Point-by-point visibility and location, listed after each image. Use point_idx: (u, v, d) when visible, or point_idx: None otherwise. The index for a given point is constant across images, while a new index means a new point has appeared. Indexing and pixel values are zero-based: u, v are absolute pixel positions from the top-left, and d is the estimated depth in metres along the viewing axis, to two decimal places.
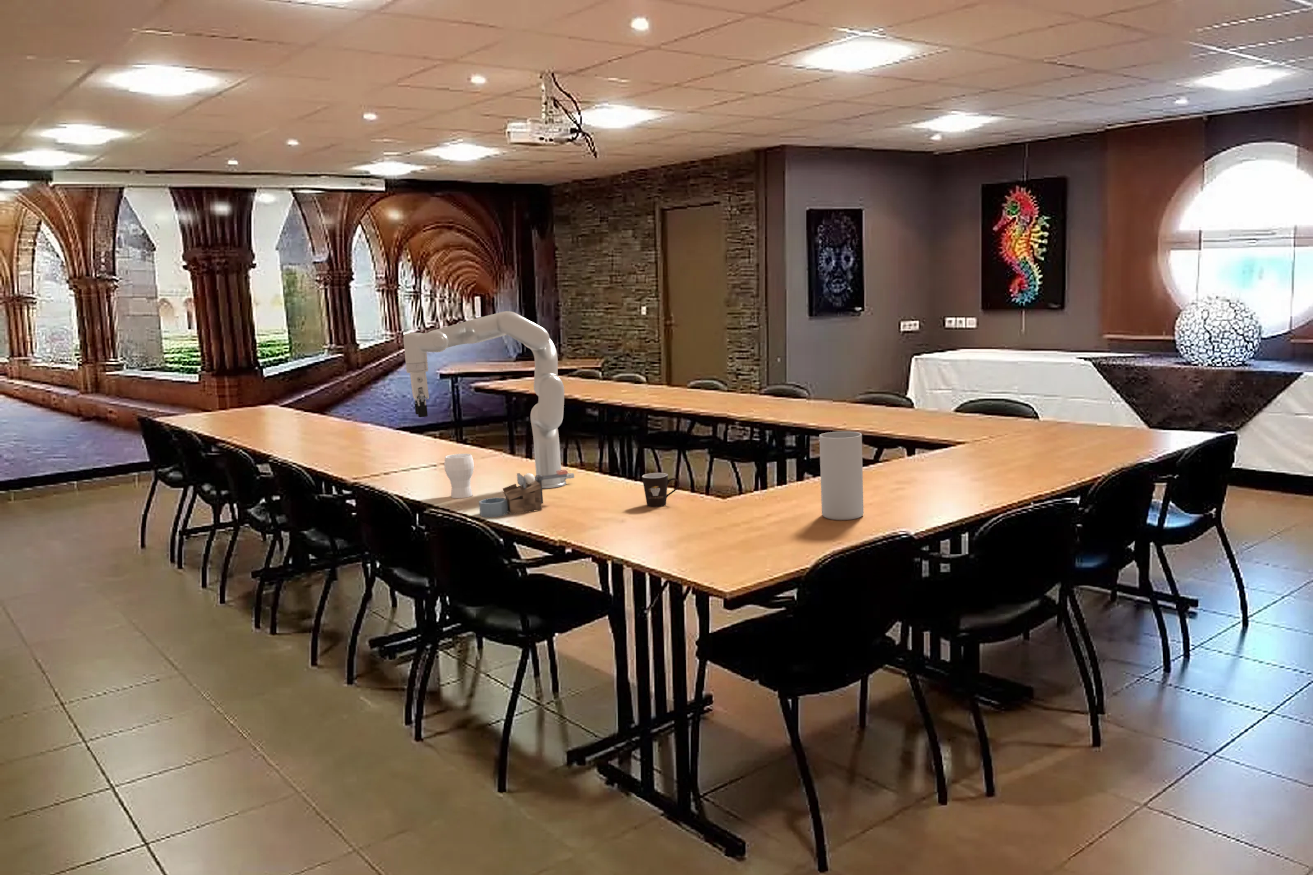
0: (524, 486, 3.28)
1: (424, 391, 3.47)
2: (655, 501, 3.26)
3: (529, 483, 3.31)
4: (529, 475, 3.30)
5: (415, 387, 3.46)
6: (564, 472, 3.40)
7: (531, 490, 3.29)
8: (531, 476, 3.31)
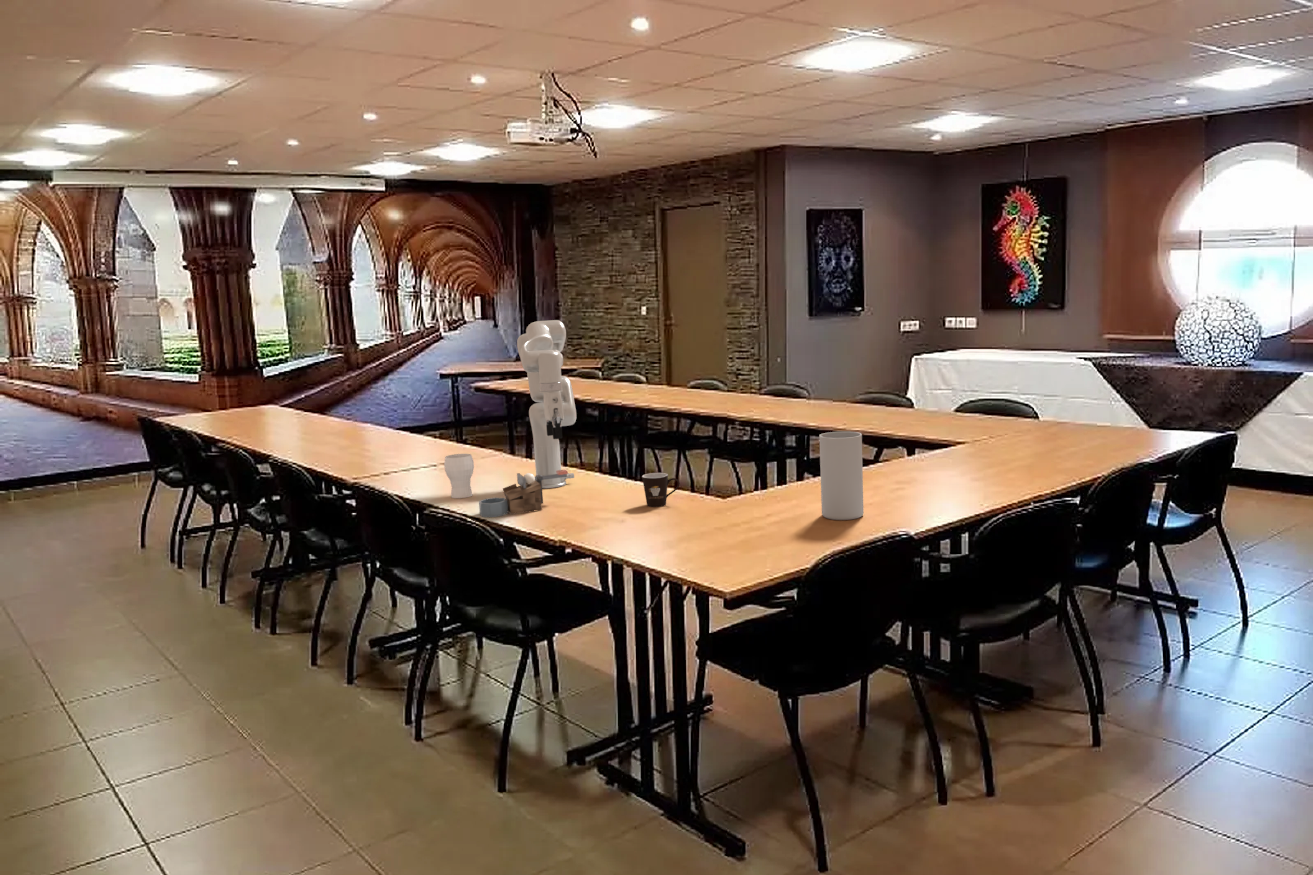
0: (524, 486, 3.28)
1: (559, 412, 3.34)
2: (655, 501, 3.26)
3: (529, 483, 3.31)
4: (529, 475, 3.30)
5: (550, 408, 3.33)
6: (564, 472, 3.40)
7: (531, 490, 3.29)
8: (531, 476, 3.31)
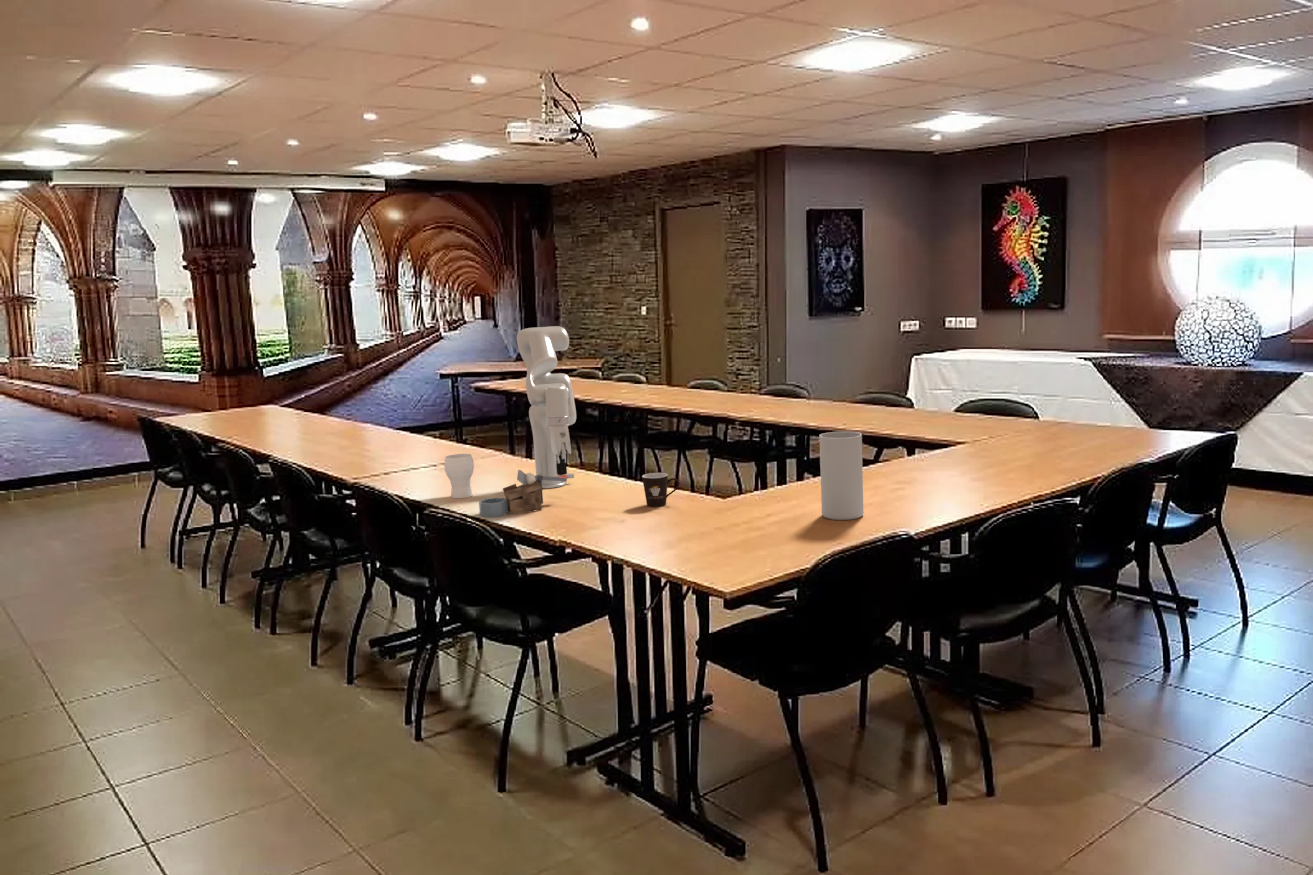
0: (524, 482, 3.28)
1: (567, 446, 3.35)
2: (655, 501, 3.26)
3: (529, 483, 3.31)
4: (530, 475, 3.31)
5: (558, 442, 3.34)
6: (565, 476, 3.40)
7: (531, 490, 3.29)
8: (532, 476, 3.31)
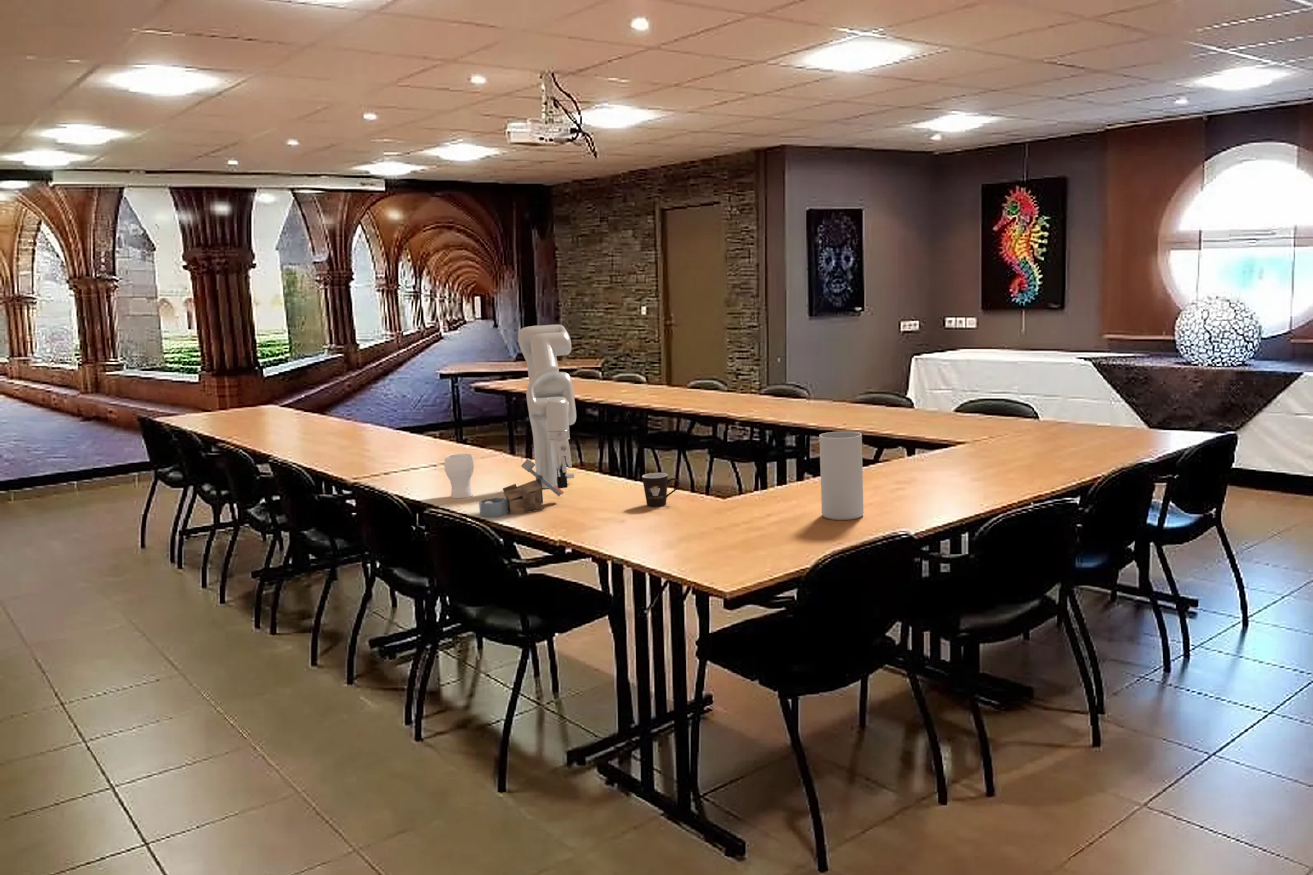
0: (528, 470, 3.27)
1: (567, 459, 3.36)
2: (655, 501, 3.26)
3: None
4: None
5: (558, 456, 3.35)
6: (561, 491, 3.40)
7: (531, 490, 3.29)
8: None
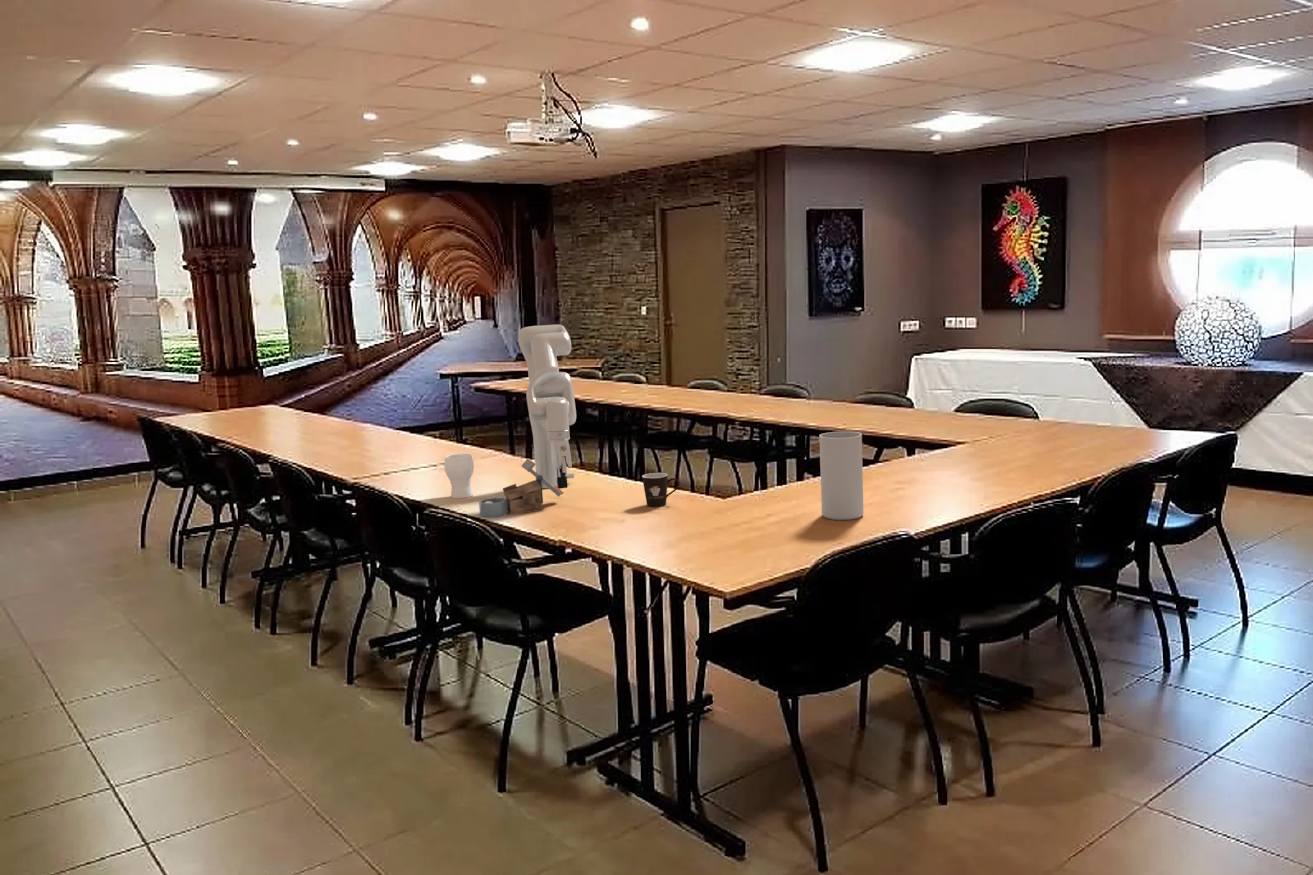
0: (529, 469, 3.28)
1: (567, 460, 3.36)
2: (655, 501, 3.26)
3: None
4: None
5: (558, 456, 3.35)
6: (560, 491, 3.40)
7: (531, 490, 3.29)
8: None
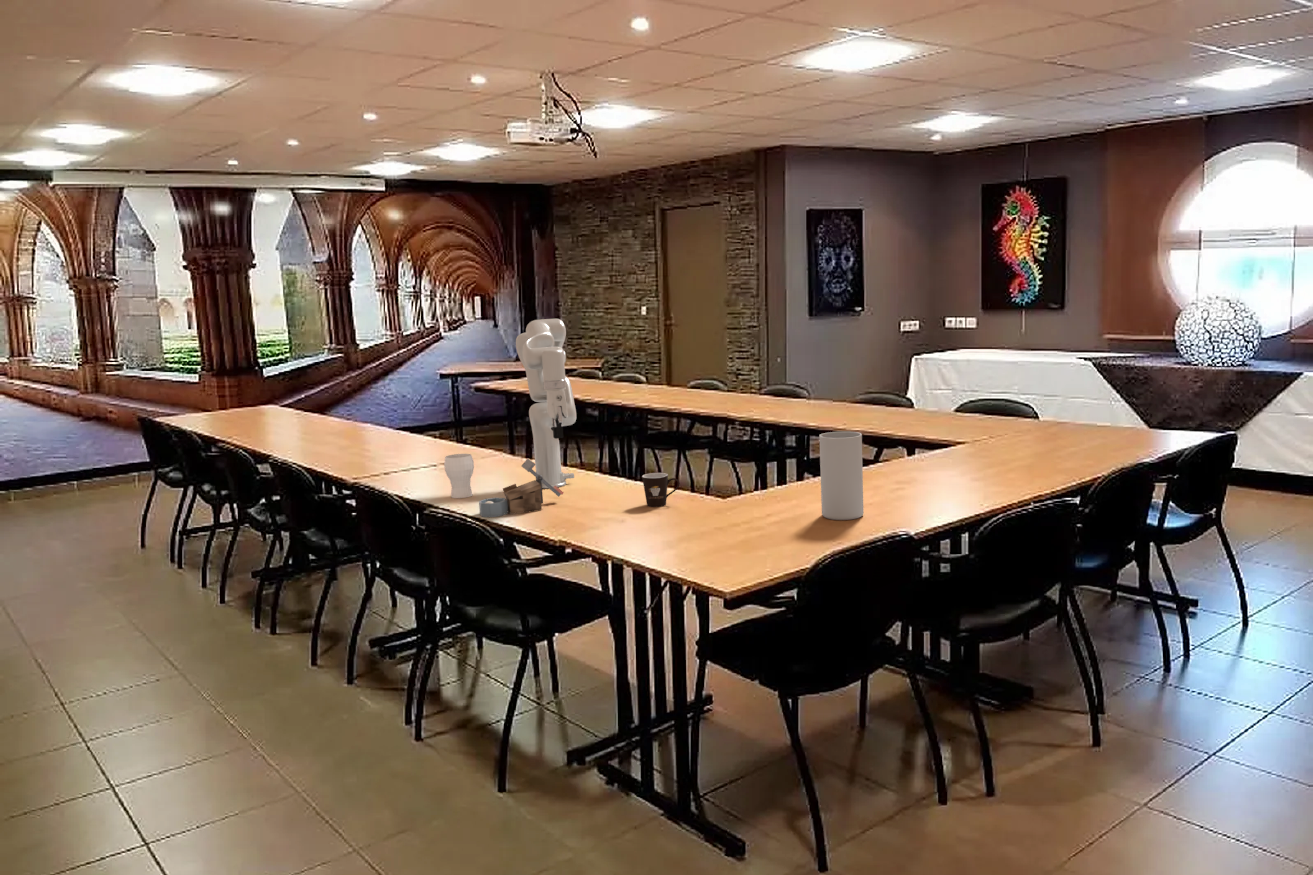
0: (529, 469, 3.28)
1: (563, 409, 3.34)
2: (655, 501, 3.26)
3: None
4: None
5: (554, 406, 3.33)
6: (560, 491, 3.40)
7: (531, 490, 3.29)
8: None
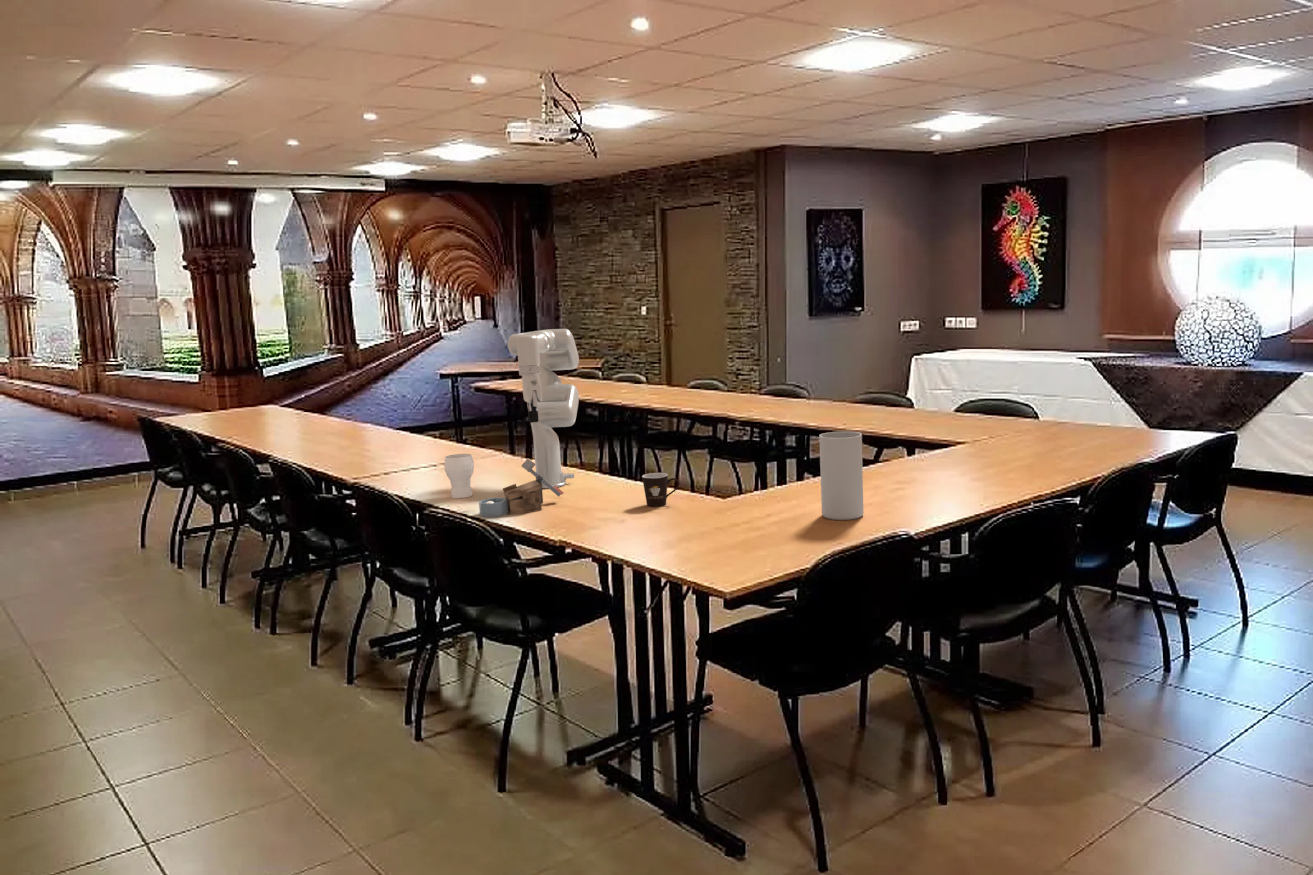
0: (529, 469, 3.28)
1: (538, 394, 3.43)
2: (655, 501, 3.26)
3: None
4: None
5: (529, 390, 3.41)
6: (560, 491, 3.40)
7: (531, 490, 3.29)
8: None
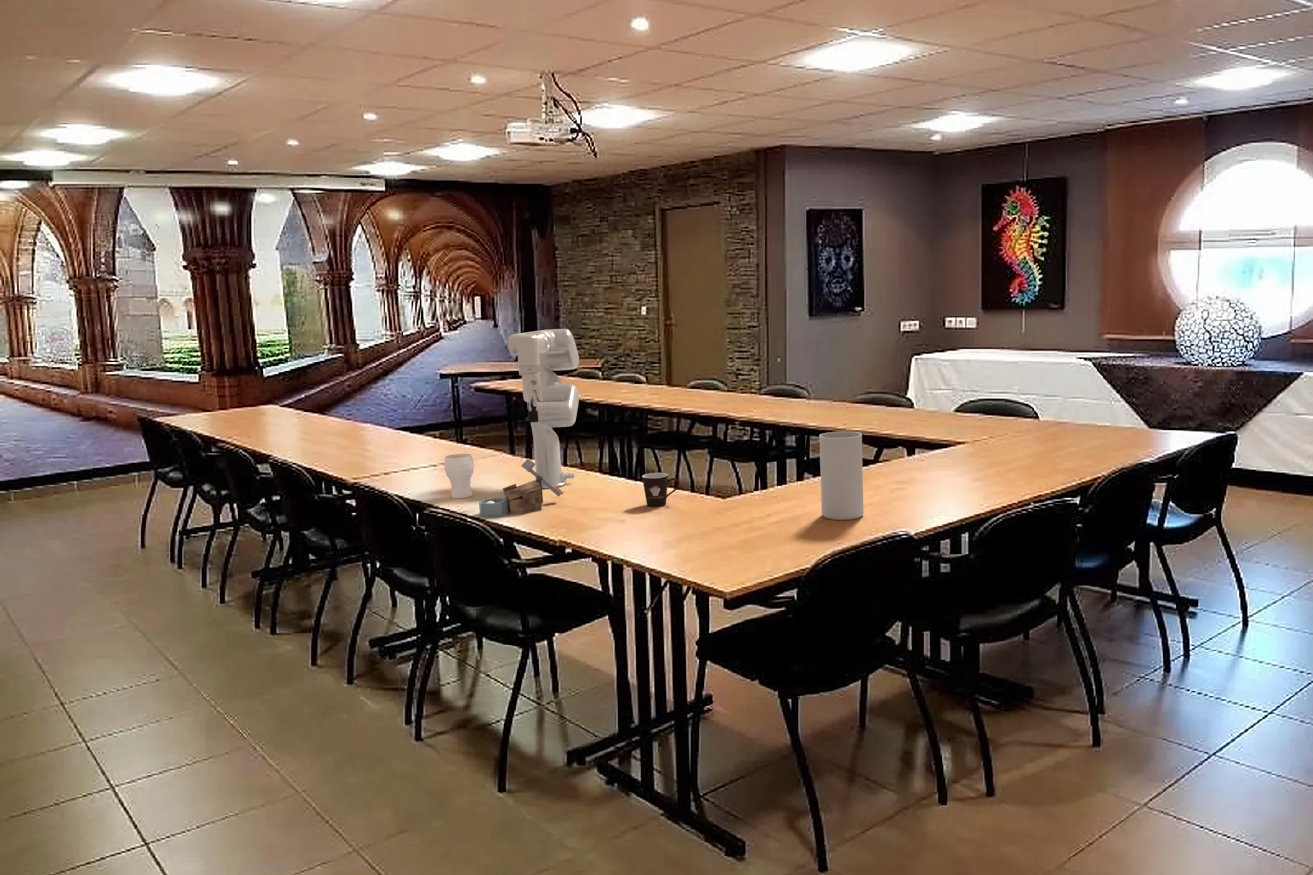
0: (529, 469, 3.28)
1: (538, 394, 3.43)
2: (655, 501, 3.26)
3: None
4: None
5: (529, 390, 3.41)
6: (560, 491, 3.40)
7: (531, 490, 3.29)
8: None
